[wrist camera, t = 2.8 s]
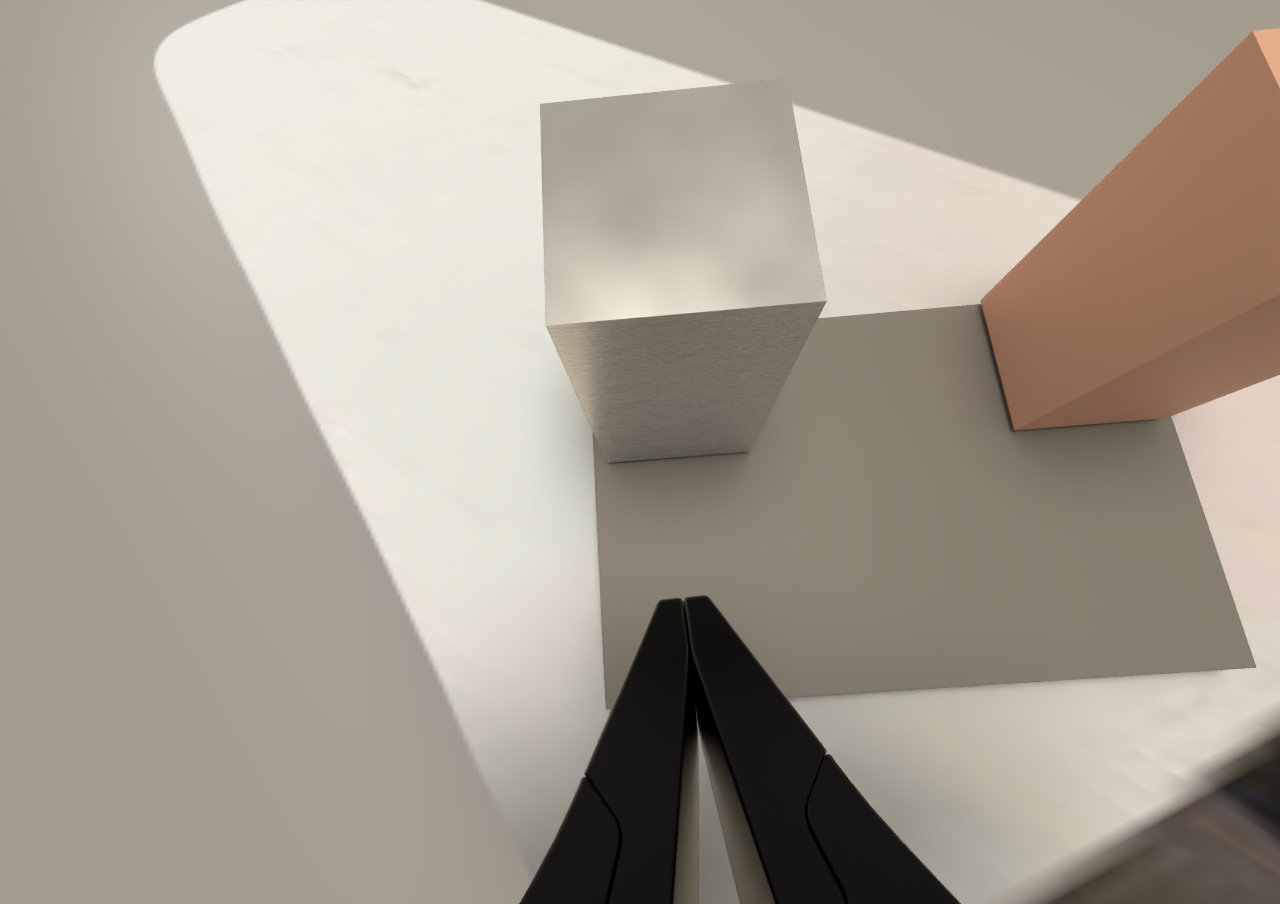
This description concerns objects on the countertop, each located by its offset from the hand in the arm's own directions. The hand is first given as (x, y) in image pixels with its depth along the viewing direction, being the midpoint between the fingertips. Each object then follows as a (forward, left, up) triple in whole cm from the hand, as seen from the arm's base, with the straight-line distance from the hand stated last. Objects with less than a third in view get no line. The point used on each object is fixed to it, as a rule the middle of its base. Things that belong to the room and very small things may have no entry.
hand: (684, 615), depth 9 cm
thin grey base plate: (+4, -7, -11) cm, 13 cm away
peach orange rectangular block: (+8, -14, -9) cm, 19 cm away
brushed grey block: (+8, 0, -9) cm, 12 cm away
